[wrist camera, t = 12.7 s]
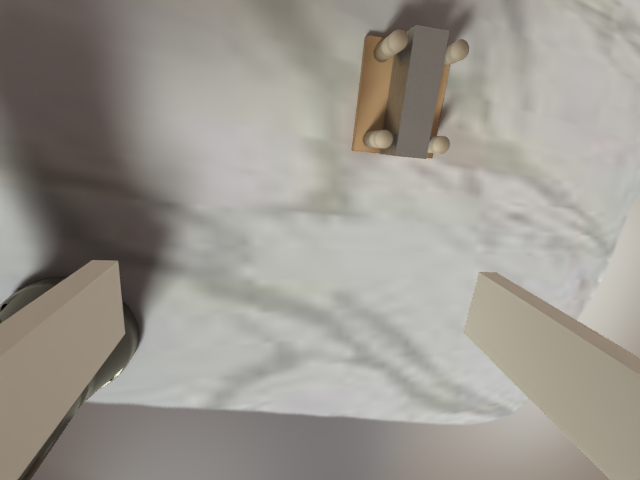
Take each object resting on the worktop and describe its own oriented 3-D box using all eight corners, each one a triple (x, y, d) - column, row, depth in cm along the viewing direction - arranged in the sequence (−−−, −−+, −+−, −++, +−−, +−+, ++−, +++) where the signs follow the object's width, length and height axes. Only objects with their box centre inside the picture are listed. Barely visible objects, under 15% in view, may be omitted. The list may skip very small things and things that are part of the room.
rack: (351, 150, 39) (365, 152, 33) (364, 37, 35) (383, 18, 30) (428, 157, 40) (454, 161, 35) (448, 50, 37) (480, 35, 31)
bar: (407, 156, 39) (426, 158, 34) (379, 153, 38) (395, 155, 34) (425, 44, 36) (449, 30, 31) (396, 39, 35) (415, 24, 30)
